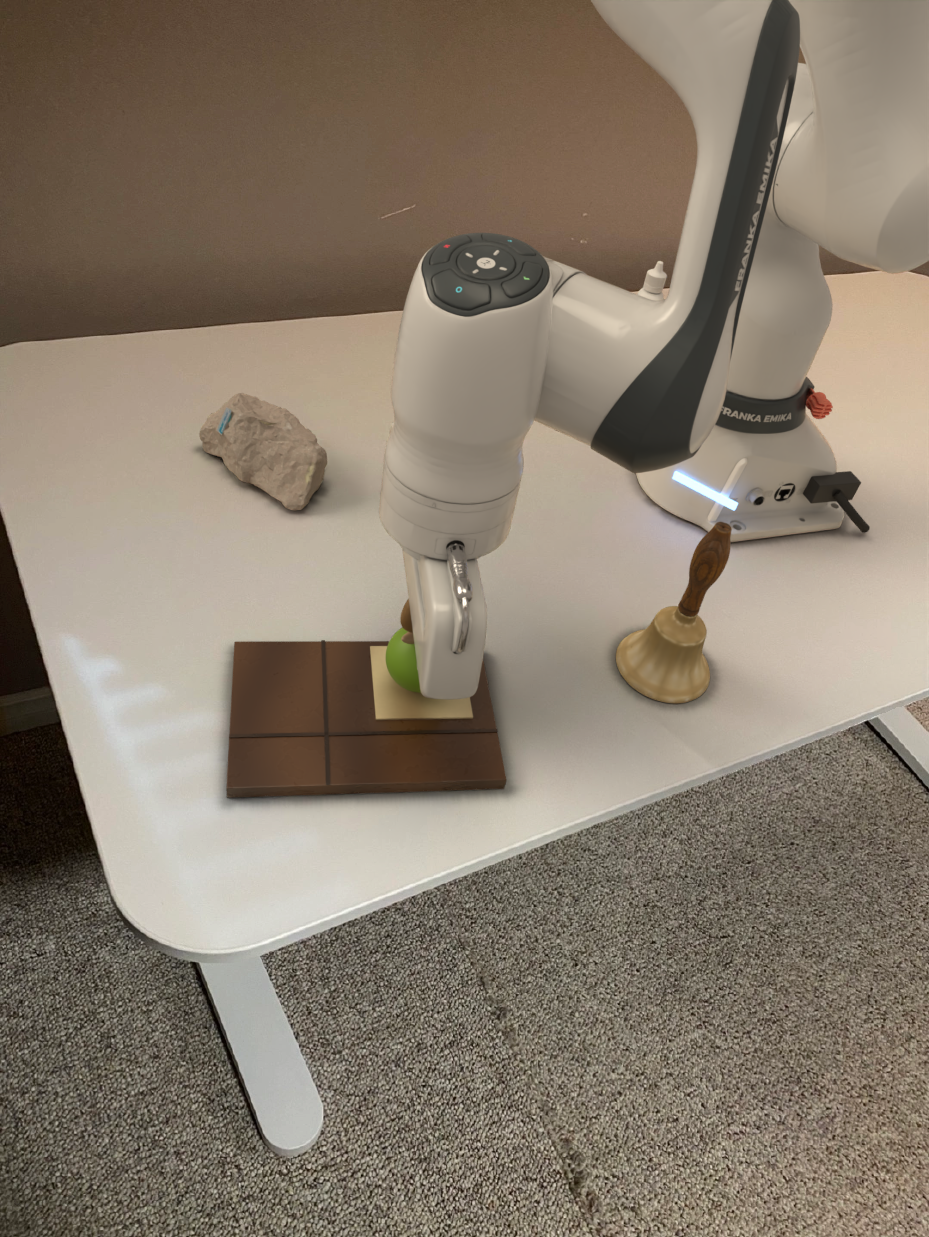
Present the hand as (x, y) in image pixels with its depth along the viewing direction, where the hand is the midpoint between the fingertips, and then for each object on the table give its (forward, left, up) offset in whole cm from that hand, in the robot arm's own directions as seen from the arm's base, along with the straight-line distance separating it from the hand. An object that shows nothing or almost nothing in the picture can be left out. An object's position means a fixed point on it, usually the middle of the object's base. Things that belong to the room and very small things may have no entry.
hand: (424, 642), depth 70 cm
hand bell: (-22, -3, -6) cm, 23 cm away
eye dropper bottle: (-34, -57, -6) cm, 66 cm away
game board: (+4, +2, -6) cm, 8 cm away
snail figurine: (0, 0, -5) cm, 5 cm away
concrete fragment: (+12, -29, -6) cm, 32 cm away
